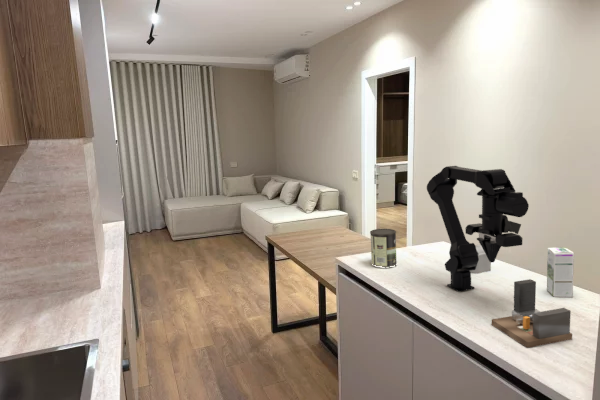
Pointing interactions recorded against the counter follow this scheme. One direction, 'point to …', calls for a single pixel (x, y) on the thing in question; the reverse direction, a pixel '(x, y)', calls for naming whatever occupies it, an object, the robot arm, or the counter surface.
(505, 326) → the base
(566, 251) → the syrup box
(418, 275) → the counter surface
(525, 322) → the cylinder
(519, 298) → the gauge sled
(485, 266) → the grey block
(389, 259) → the coffee can
